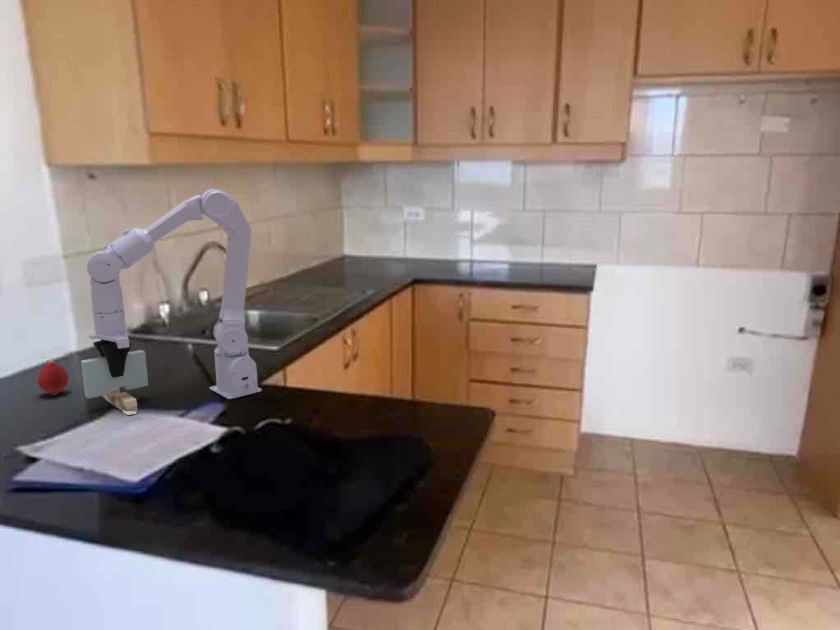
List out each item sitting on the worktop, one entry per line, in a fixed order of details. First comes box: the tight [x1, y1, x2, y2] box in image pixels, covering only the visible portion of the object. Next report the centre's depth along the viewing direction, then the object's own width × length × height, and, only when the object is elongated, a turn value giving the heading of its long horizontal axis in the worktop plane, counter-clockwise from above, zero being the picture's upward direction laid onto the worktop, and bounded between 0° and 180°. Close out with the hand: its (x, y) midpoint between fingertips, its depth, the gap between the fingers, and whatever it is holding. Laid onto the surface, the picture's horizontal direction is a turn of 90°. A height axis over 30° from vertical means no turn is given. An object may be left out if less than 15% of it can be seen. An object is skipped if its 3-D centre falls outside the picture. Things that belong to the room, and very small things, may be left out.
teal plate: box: [80, 349, 149, 399], centre depth 133 cm, size 2×12×8 cm, turn 133°
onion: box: [37, 359, 70, 396], centre depth 139 cm, size 6×6×8 cm
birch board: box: [101, 387, 139, 411], centre depth 134 cm, size 16×2×3 cm, turn 43°
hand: (115, 375), depth 133 cm, fingers closed on teal plate, 2 cm apart
